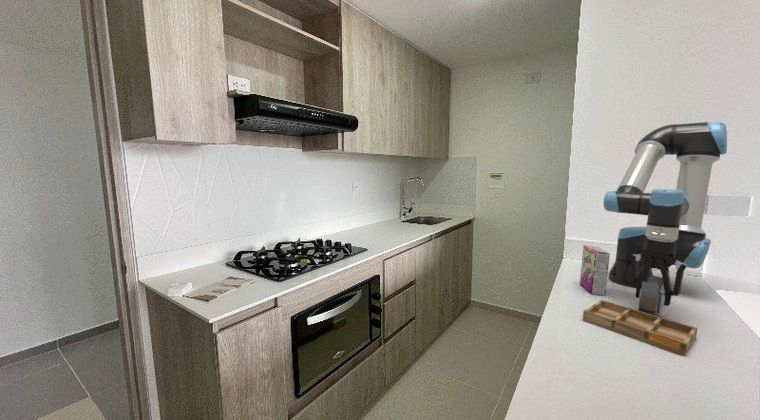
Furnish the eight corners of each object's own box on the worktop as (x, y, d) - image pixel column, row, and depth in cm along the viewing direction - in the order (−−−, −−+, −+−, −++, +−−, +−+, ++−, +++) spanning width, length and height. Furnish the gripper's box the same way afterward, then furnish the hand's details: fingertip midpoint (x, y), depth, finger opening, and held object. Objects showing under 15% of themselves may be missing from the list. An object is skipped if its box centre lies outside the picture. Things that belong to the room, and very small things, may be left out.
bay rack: (600, 308, 107) (601, 299, 106) (695, 338, 88) (697, 326, 88) (582, 320, 98) (583, 310, 97) (684, 356, 79) (686, 344, 79)
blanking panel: (646, 310, 106) (651, 275, 105) (662, 314, 103) (667, 278, 101) (637, 318, 100) (642, 281, 99) (653, 323, 97) (659, 285, 95)
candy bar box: (578, 284, 129) (582, 244, 127) (592, 285, 128) (596, 245, 126) (590, 294, 118) (595, 251, 116) (605, 296, 117) (610, 252, 115)
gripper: (622, 235, 103) (613, 304, 106) (697, 246, 89) (685, 325, 92) (629, 233, 107) (621, 299, 110) (702, 243, 94) (691, 318, 97)
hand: (650, 311), depth 101 cm, fingers open, 4 cm apart
